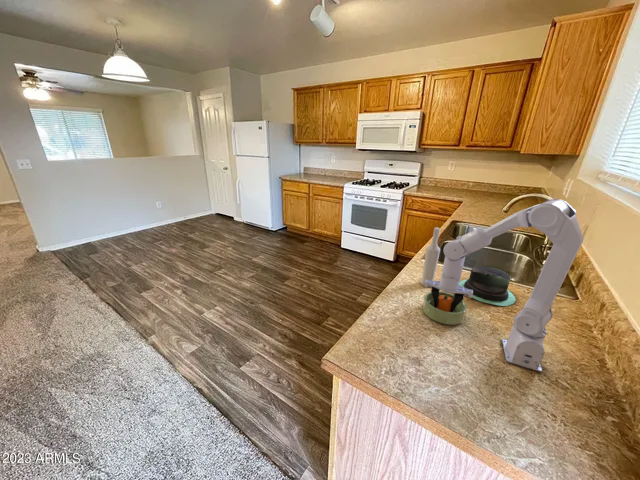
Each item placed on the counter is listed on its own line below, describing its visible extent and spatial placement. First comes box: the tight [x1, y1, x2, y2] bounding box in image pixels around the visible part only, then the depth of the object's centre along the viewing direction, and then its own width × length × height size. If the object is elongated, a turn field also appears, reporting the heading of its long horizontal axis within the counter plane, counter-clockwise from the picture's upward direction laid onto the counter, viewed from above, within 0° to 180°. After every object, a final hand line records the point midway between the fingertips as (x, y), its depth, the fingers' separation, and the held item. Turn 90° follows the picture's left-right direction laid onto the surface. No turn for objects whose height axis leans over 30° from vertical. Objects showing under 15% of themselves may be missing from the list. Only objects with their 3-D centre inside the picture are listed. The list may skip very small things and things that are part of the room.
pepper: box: [436, 295, 453, 312], centre depth 92 cm, size 5×5×7 cm
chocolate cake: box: [459, 266, 516, 307], centre depth 106 cm, size 15×19×20 cm
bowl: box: [422, 291, 468, 326], centre depth 92 cm, size 13×13×5 cm
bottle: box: [420, 227, 441, 287], centre depth 107 cm, size 5×5×25 cm
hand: (443, 308), depth 92 cm, fingers closed on pepper, 4 cm apart
